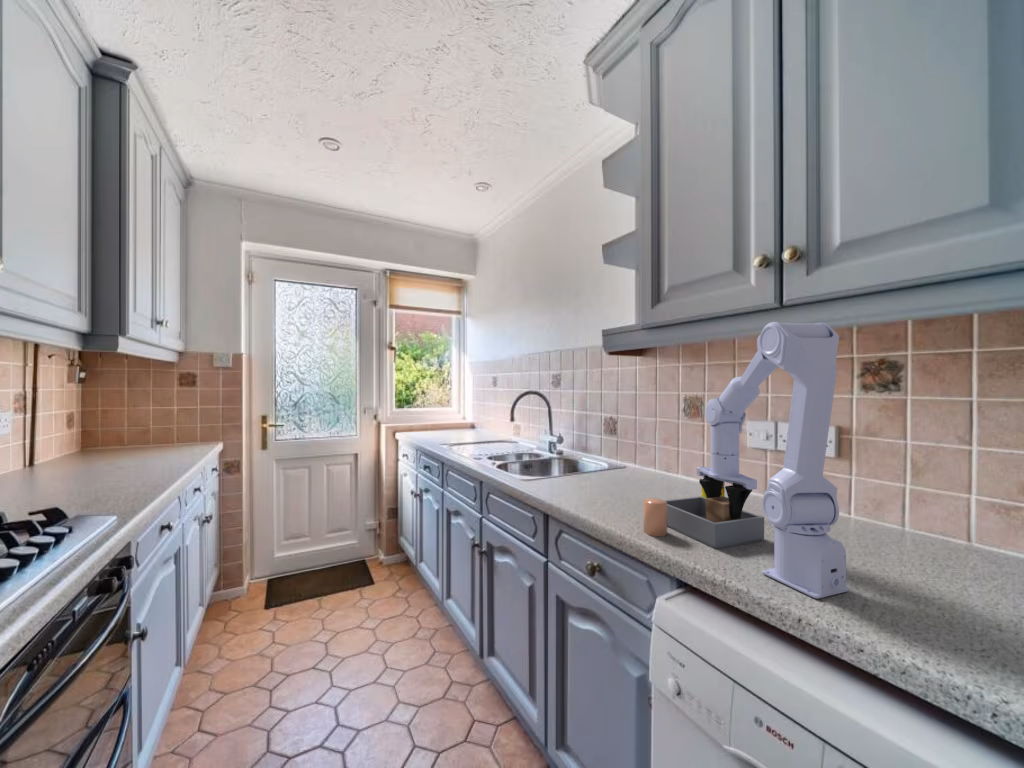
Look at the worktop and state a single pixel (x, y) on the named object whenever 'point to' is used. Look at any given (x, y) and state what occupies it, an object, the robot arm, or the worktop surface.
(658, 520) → the terracotta cylinder
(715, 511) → the walnut block
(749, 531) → the tote
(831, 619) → the worktop surface
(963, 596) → the worktop surface
